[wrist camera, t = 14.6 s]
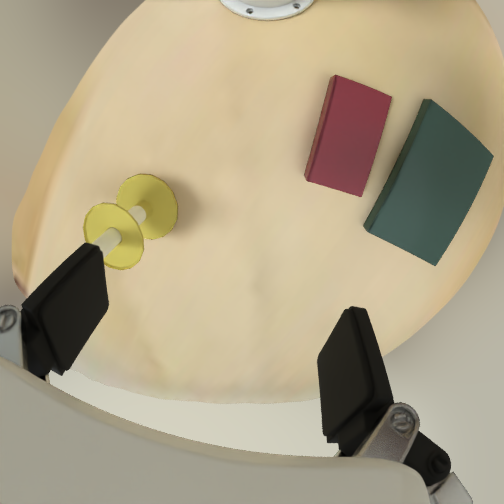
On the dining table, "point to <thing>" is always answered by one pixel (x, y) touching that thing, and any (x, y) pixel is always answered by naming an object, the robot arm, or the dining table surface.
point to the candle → (131, 220)
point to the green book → (430, 185)
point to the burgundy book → (347, 136)
